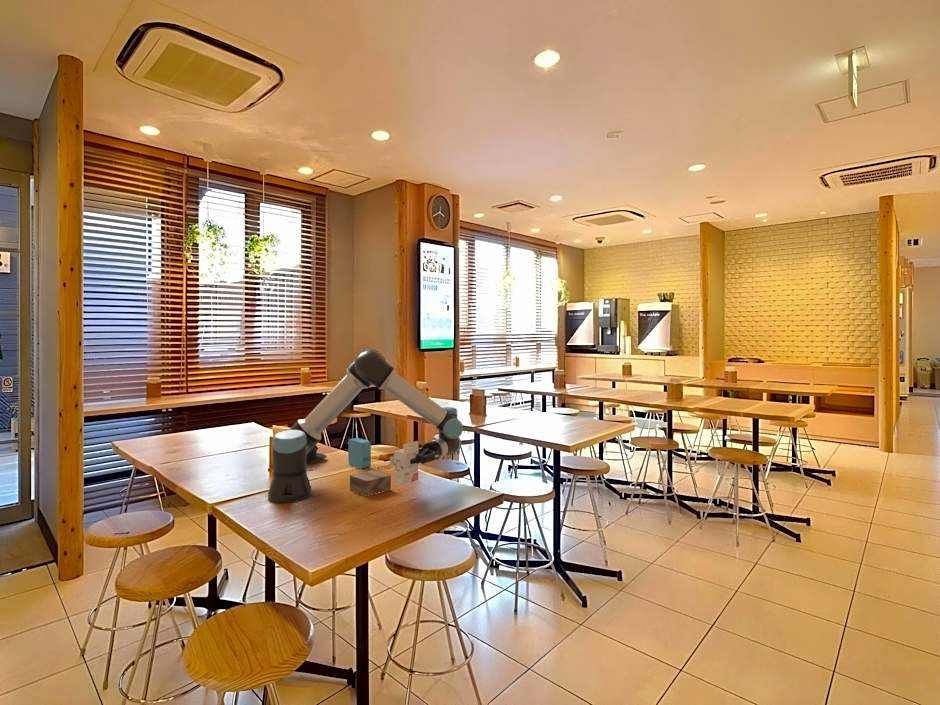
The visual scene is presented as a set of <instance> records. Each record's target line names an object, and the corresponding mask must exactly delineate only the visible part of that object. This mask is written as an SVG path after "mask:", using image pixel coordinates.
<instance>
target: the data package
mask: <svg viewBox="0 0 940 705" xmlns="http://www.w3.org/2000/svg"><path fill="white" fill-rule="evenodd" d="M347 443H348V445H347V446H348V450H347V453H348V454H347V455H348V459H347V460H348V462H347V463H348V464H349V465H350V466H351V465H352V466H351V467H354V468H358V469H360V470H362V469H363V468H364V469H368V468H370V467H371V466H372V452H371V451H372V447H371V446H372V443H371V441H370V440H366V439H364V438H360V437H354V438H349V439H348V441H347ZM364 469H363V470H364Z"/></svg>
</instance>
